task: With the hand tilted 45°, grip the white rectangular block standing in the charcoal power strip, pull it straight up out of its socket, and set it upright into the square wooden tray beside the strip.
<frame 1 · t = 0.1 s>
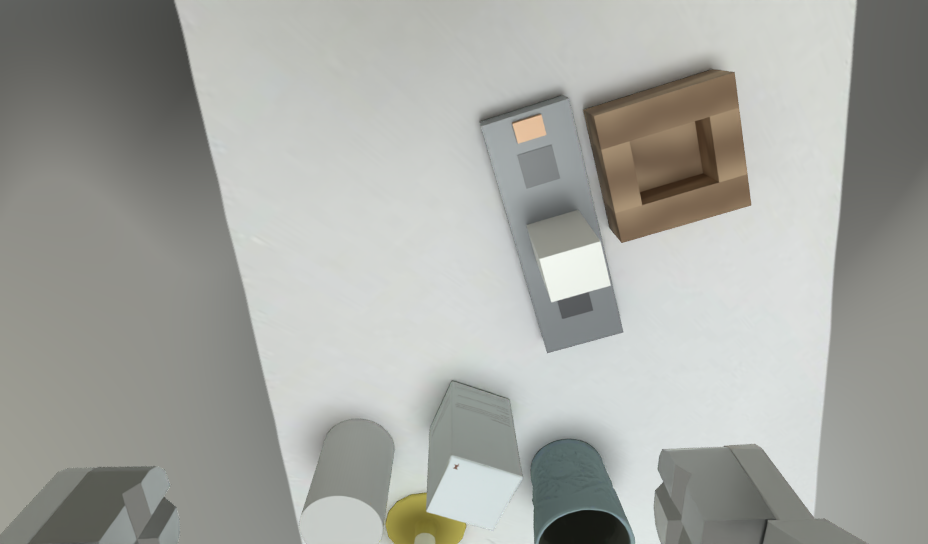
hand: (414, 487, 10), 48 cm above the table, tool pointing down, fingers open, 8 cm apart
cup: (359, 446, 68), on the table
square wooden tray: (658, 152, 56), on the table
power strip: (552, 227, 58), on the table
teal plant pot: (564, 465, 70), on the table
candle: (426, 522, 73), on the table
supplement box: (469, 413, 67), on the table
white rectangular block: (553, 230, 57), point 1 cm above the table, touching power strip
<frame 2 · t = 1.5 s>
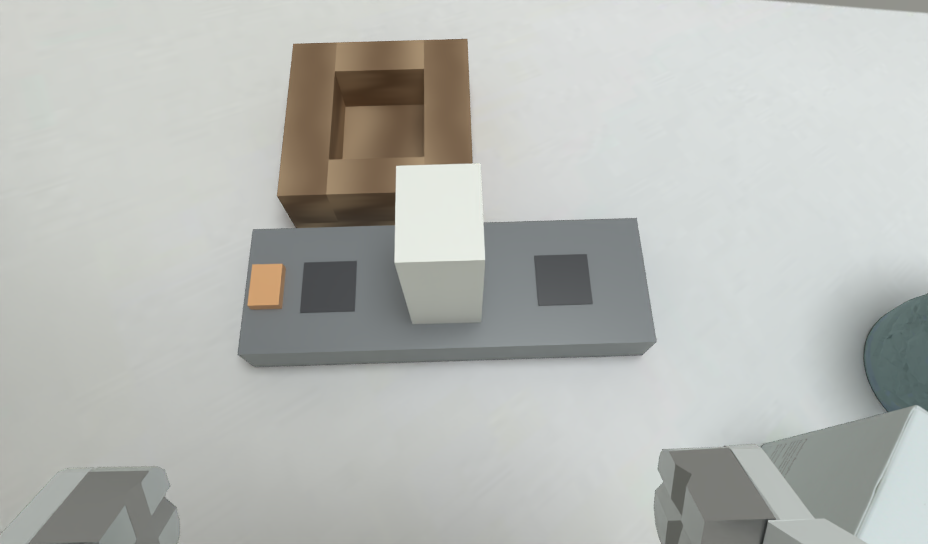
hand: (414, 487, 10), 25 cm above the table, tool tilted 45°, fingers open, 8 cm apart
square wooden tray: (386, 152, 42), on the table
power strip: (447, 300, 38), on the table
supplement box: (792, 534, 33), on the table
white rectangular block: (447, 294, 37), point 1 cm above the table, touching power strip
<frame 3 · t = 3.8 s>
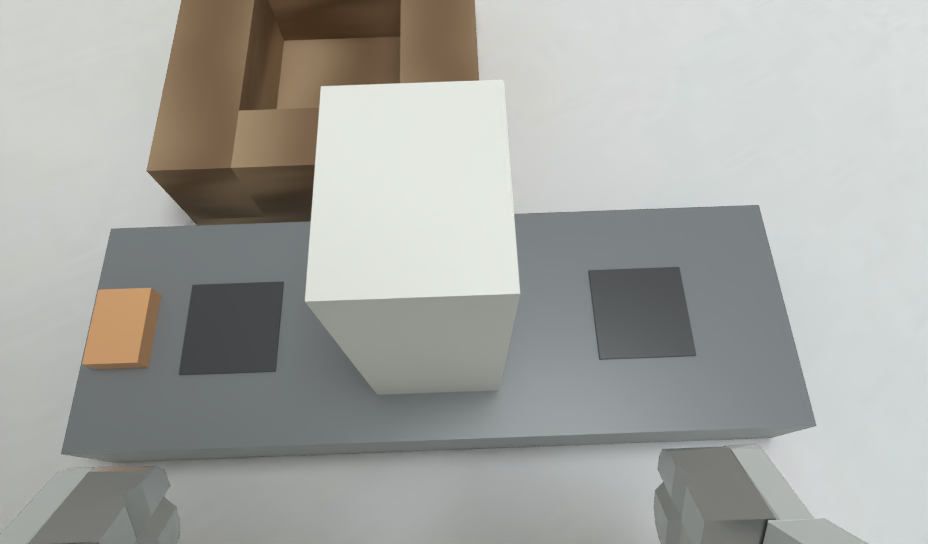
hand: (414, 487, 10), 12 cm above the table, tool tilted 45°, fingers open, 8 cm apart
square wooden tray: (347, 108, 27), on the table
power strip: (441, 343, 23), on the table
white rectangular block: (439, 336, 22), point 1 cm above the table, touching power strip
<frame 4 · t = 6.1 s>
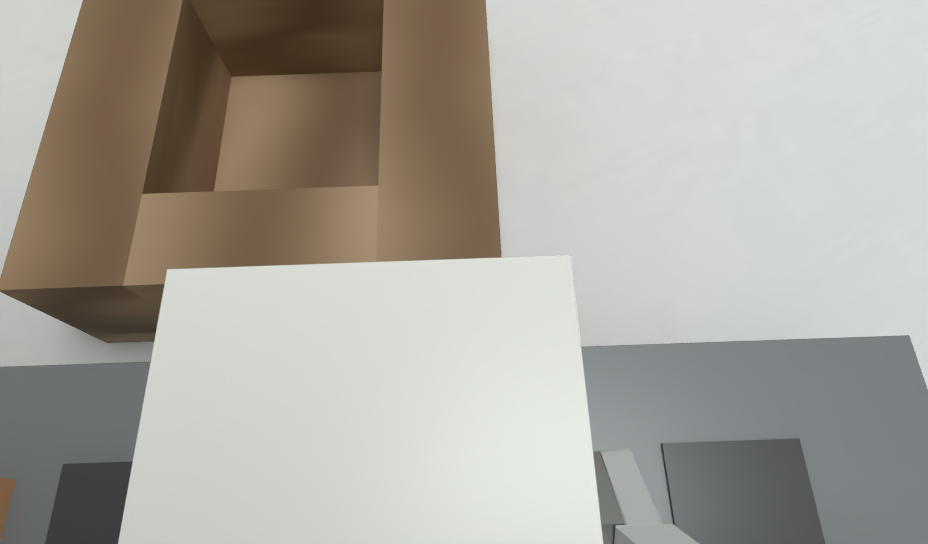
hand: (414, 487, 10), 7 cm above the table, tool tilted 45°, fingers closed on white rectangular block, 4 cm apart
square wooden tray: (314, 169, 20), on the table
power strip: (439, 524, 16), on the table
white rectangular block: (436, 524, 15), point 1 cm above the table, touching gripper, power strip
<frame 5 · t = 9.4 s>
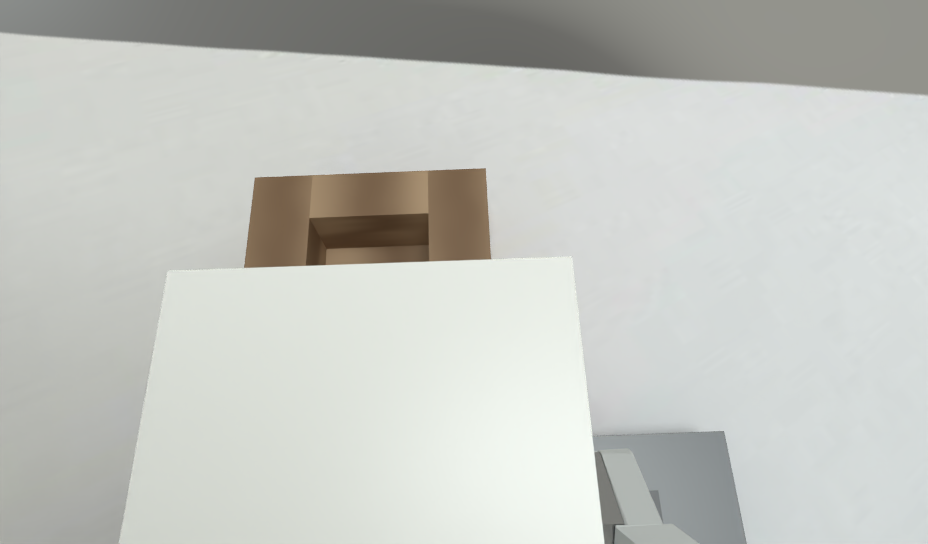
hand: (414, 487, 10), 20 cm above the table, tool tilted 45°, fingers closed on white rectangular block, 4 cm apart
square wooden tray: (380, 310, 32), on the table
power strip: (463, 535, 28), on the table
white rectangular block: (437, 525, 15), point 14 cm above the table, touching gripper
when the fingers open (8 cm above the table, at t = 12.9 s): white rectangular block stays where it is, resting on square wooden tray.
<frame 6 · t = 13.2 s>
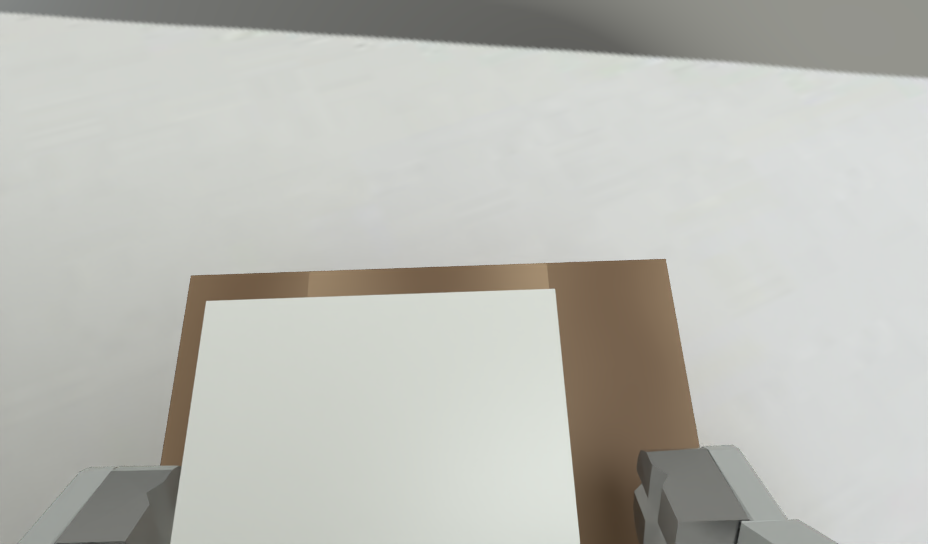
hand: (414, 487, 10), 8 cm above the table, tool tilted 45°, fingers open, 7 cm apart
square wooden tray: (441, 523, 17), on the table
white rectangular block: (438, 523, 16), point 1 cm above the table, touching square wooden tray
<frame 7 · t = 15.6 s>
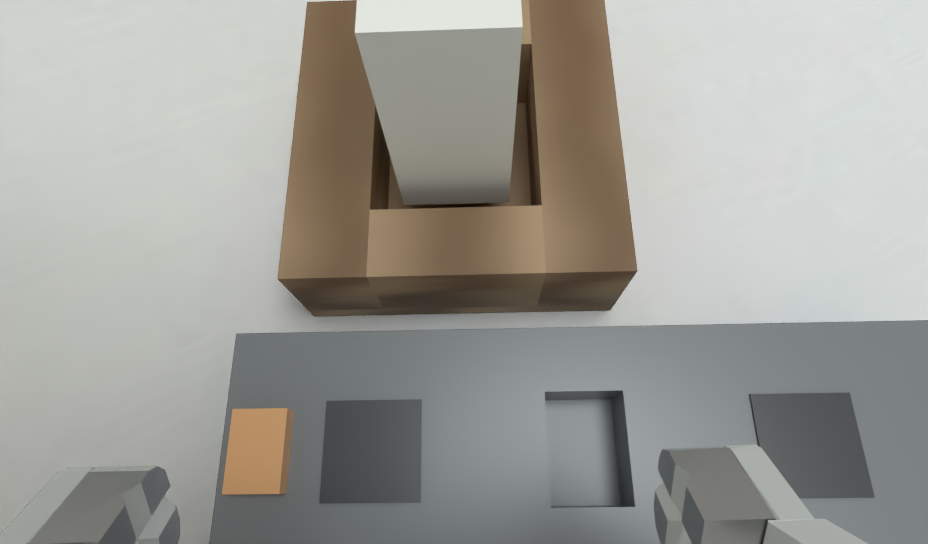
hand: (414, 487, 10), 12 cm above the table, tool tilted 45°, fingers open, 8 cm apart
square wooden tray: (460, 182, 26), on the table
power strip: (575, 452, 22), on the table
white rectangular block: (458, 172, 25), point 1 cm above the table, touching square wooden tray
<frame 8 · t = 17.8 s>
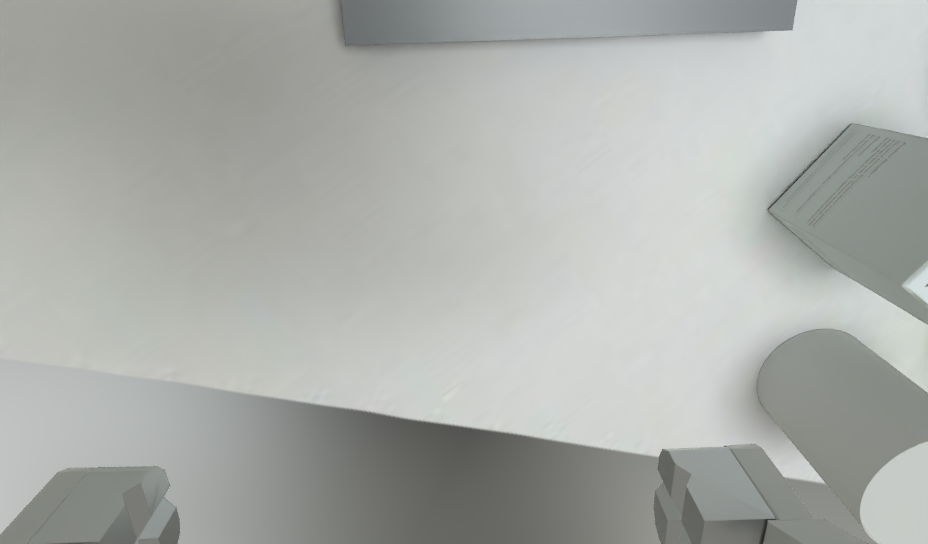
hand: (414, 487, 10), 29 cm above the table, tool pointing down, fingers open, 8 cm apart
cup: (810, 376, 43), on the table
supplement box: (842, 198, 38), on the table
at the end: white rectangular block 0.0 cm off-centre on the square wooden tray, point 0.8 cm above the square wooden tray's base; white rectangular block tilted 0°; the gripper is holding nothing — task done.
